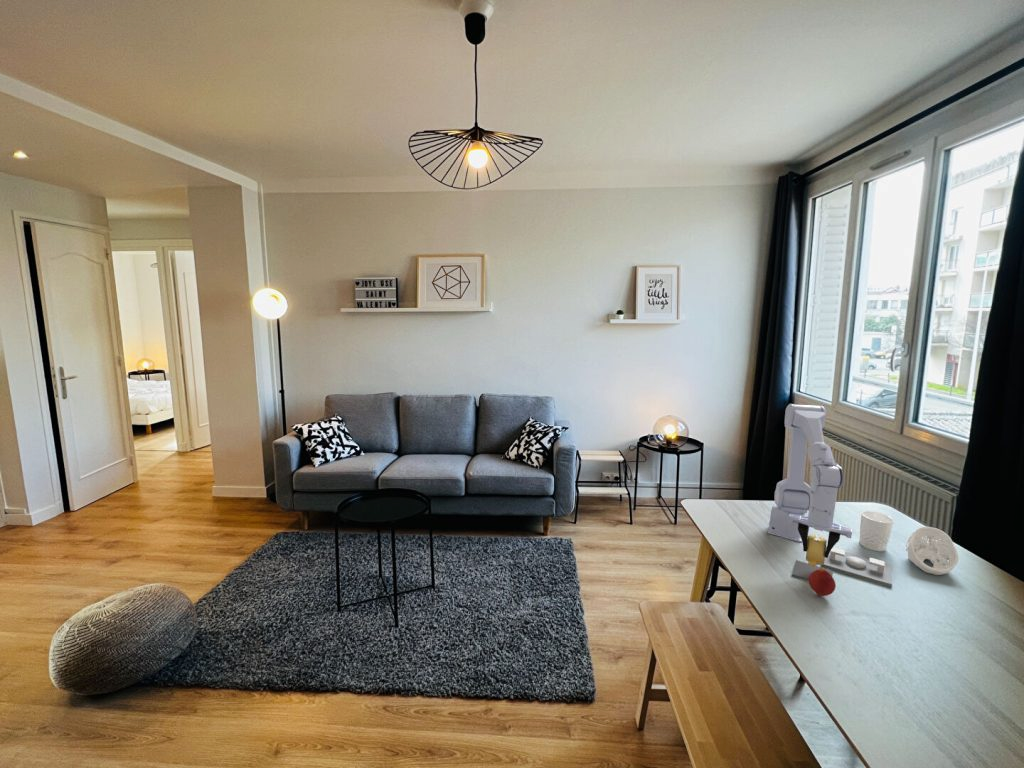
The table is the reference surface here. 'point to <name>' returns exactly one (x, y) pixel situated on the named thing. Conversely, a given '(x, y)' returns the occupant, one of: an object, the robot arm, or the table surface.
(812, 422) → the robot arm
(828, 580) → the onion
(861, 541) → the white cup
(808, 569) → the mat
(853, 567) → the post base
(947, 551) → the skull bowl
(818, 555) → the yellow rounded piece
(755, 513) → the table surface
